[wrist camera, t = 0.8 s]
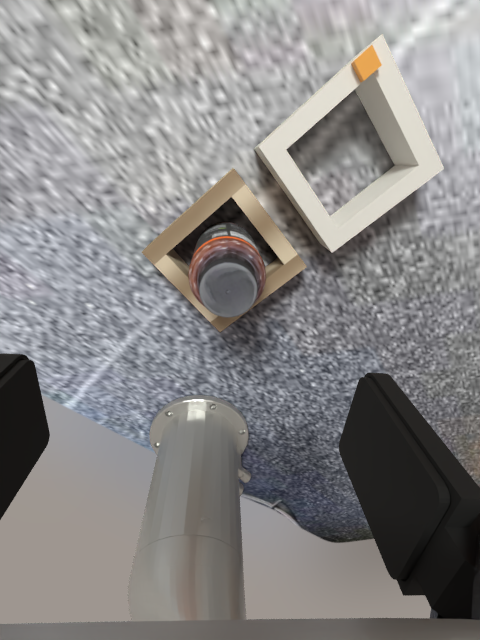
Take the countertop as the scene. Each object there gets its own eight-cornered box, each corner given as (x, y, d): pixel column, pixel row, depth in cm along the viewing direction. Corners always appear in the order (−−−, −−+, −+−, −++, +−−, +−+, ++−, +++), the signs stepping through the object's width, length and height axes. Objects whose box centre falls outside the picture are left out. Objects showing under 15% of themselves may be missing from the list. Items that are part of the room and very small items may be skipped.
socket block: (416, 168, 29) (449, 168, 25) (319, 242, 32) (334, 254, 27) (359, 52, 25) (386, 30, 21) (254, 148, 28) (259, 146, 24)
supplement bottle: (223, 291, 33) (223, 346, 23) (182, 248, 31) (163, 288, 21) (267, 254, 32) (289, 296, 22) (228, 206, 30) (231, 228, 20)
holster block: (299, 258, 32) (306, 266, 29) (220, 319, 35) (220, 332, 32) (232, 168, 28) (233, 168, 26) (148, 244, 31) (141, 252, 28)
